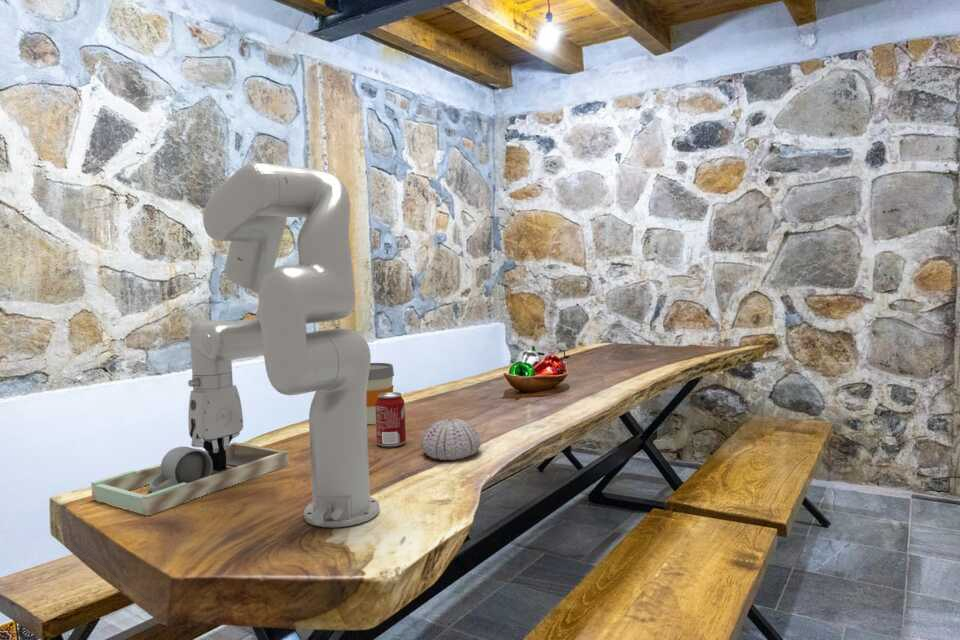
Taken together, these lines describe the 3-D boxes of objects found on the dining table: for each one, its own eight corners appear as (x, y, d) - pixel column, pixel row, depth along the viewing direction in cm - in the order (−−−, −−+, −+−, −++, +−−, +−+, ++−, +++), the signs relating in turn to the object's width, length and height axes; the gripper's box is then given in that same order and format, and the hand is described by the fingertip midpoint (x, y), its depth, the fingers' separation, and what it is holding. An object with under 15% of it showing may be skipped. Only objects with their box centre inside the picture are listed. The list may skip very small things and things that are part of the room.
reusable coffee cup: (340, 421, 180) (337, 366, 178) (378, 413, 188) (376, 361, 187) (366, 428, 171) (363, 371, 169) (404, 420, 179) (403, 365, 178)
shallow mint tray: (147, 516, 113) (146, 497, 113) (92, 500, 122) (91, 482, 122) (189, 501, 120) (187, 483, 120) (133, 487, 129) (132, 470, 128)
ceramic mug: (196, 475, 135) (193, 439, 134) (214, 483, 130) (211, 445, 129) (142, 490, 127) (138, 451, 127) (159, 499, 122) (155, 459, 121)
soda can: (400, 449, 151) (398, 397, 150) (372, 448, 152) (370, 397, 151) (409, 441, 158) (407, 391, 157) (382, 440, 159) (380, 391, 158)
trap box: (147, 516, 113) (146, 499, 113) (92, 500, 122) (91, 484, 122) (288, 465, 141) (287, 451, 140) (235, 455, 149) (234, 442, 149)
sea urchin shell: (427, 466, 138) (426, 429, 137) (416, 449, 151) (415, 415, 150) (488, 460, 141) (487, 423, 141) (472, 443, 154) (471, 410, 154)
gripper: (191, 389, 125) (197, 483, 127) (255, 376, 138) (259, 462, 140) (167, 386, 129) (173, 477, 131) (231, 374, 142) (236, 457, 144)
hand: (218, 469), depth 135 cm, fingers closed
